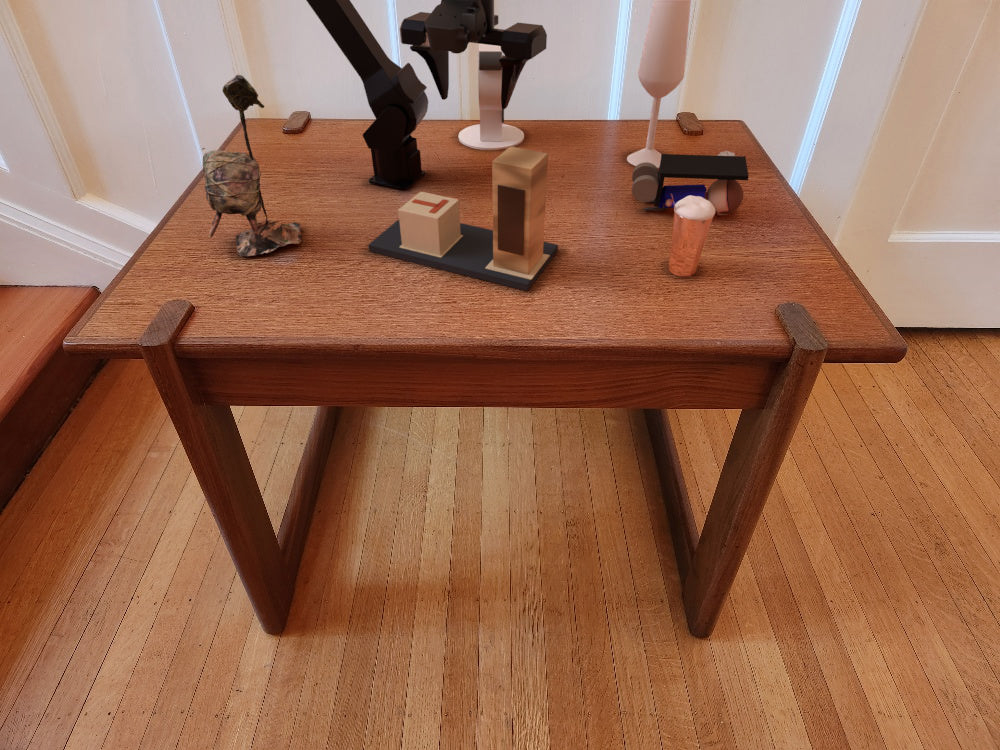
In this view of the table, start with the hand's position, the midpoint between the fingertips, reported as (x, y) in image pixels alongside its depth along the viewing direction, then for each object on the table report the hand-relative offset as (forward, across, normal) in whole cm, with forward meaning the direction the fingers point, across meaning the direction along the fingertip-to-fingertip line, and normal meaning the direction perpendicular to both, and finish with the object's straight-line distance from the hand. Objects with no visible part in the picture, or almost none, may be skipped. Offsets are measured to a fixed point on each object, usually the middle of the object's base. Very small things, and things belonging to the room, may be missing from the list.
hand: (474, 103), depth 88 cm
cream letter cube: (+11, +3, -19) cm, 22 cm away
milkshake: (+12, +33, -11) cm, 37 cm away
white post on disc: (+12, -6, +18) cm, 23 cm away
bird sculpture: (+12, -18, -27) cm, 35 cm away
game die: (+12, +33, +20) cm, 40 cm away
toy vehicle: (+12, +30, +5) cm, 33 cm away
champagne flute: (+12, +21, +20) cm, 31 cm away
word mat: (+12, +7, -18) cm, 23 cm away
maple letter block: (+11, +15, -19) cm, 27 cm away
